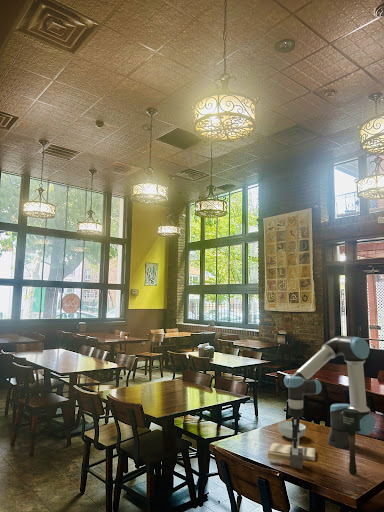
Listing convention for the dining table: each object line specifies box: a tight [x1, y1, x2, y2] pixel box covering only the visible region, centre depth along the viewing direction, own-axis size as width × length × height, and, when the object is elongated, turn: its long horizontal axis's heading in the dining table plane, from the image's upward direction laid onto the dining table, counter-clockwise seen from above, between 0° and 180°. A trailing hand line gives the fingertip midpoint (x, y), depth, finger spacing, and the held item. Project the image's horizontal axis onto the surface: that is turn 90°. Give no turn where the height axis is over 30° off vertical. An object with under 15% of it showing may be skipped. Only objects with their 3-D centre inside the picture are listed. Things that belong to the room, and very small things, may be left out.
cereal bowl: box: [277, 420, 307, 440], centre depth 239 cm, size 17×17×7 cm
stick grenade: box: [342, 409, 361, 475], centre depth 190 cm, size 8×9×30 cm
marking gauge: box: [267, 447, 304, 470], centre depth 198 cm, size 6×18×8 cm, turn 72°
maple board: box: [268, 442, 316, 462], centre depth 212 cm, size 24×13×2 cm, turn 72°
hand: (295, 450), depth 197 cm, fingers open, 13 cm apart
